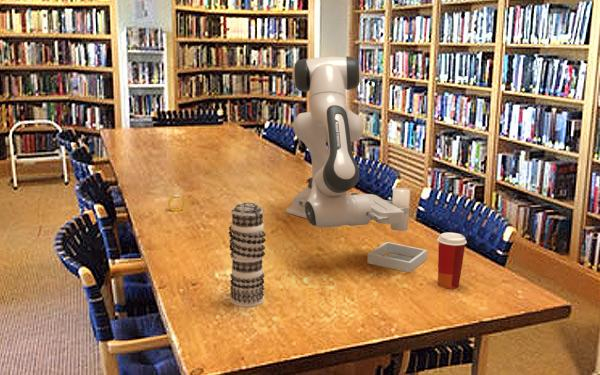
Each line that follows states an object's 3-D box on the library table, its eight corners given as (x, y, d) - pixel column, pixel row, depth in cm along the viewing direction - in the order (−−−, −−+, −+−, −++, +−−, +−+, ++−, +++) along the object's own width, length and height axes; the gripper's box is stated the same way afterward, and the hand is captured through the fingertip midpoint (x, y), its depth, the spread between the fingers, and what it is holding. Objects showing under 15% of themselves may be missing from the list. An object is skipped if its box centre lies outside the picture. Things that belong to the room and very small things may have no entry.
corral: (367, 263, 186) (367, 253, 186) (386, 250, 198) (386, 241, 197) (409, 272, 179) (410, 262, 179) (426, 259, 191) (427, 250, 190)
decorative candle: (221, 299, 158) (220, 204, 152) (249, 289, 165) (249, 198, 159) (244, 310, 152) (244, 212, 146) (272, 300, 158) (273, 205, 152)
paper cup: (458, 279, 175) (462, 232, 172) (466, 290, 168) (470, 240, 164) (430, 279, 175) (434, 231, 172) (437, 290, 167) (441, 240, 164)
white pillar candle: (388, 229, 185) (391, 190, 182) (392, 225, 189) (395, 186, 186) (405, 231, 183) (408, 192, 180) (409, 227, 187) (411, 188, 185)
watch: (169, 212, 235) (168, 196, 234) (167, 210, 237) (167, 195, 236) (185, 210, 237) (184, 195, 236) (183, 209, 240) (183, 194, 238)
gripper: (375, 208, 170) (421, 205, 174) (347, 191, 189) (389, 189, 193) (374, 230, 172) (419, 227, 176) (346, 211, 191) (387, 208, 195)
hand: (403, 207), depth 185 cm, fingers closed on white pillar candle, 5 cm apart
